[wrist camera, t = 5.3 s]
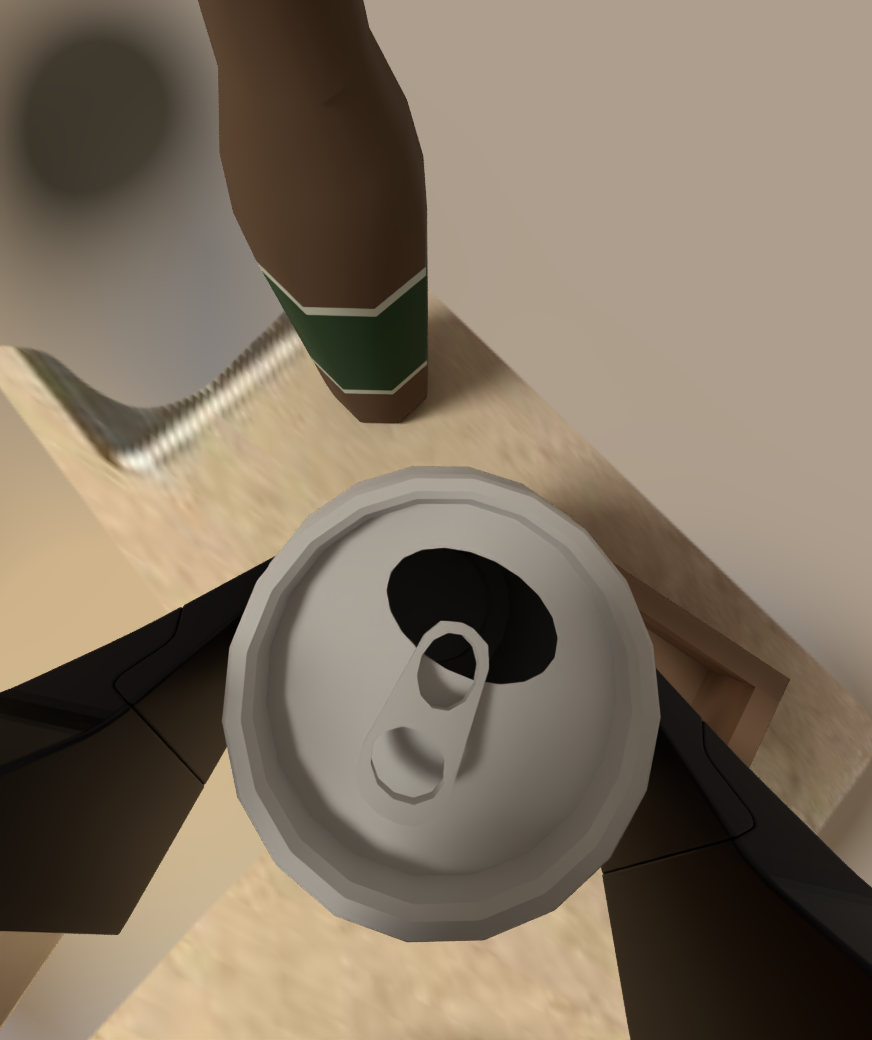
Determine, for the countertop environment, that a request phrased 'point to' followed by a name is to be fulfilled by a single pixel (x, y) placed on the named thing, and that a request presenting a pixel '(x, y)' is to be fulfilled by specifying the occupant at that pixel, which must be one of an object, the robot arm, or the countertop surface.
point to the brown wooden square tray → (710, 671)
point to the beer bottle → (328, 190)
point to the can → (441, 705)
